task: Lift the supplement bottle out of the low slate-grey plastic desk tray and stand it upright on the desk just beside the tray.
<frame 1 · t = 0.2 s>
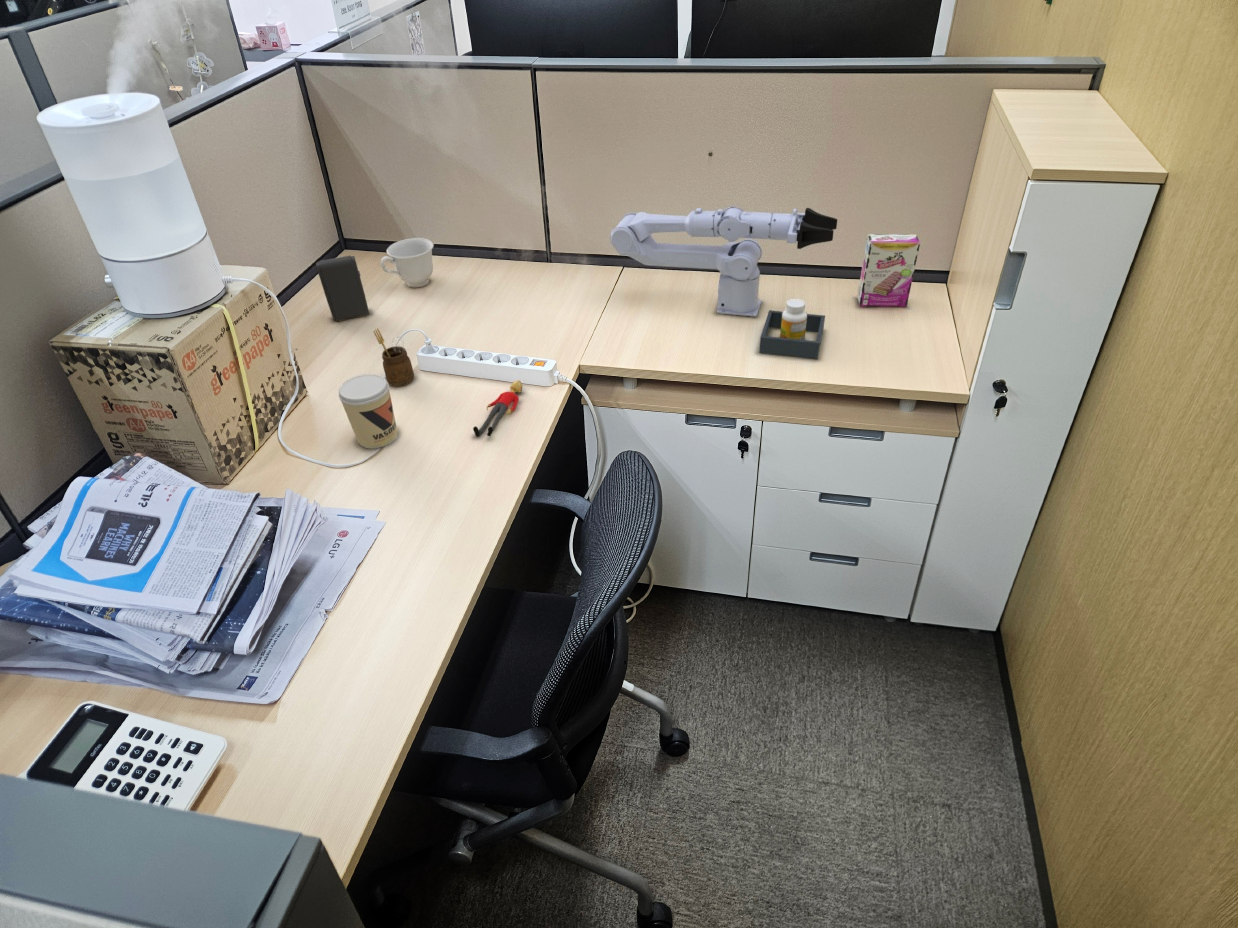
hand: (835, 229, 172), 21 cm above the table, tool horizontal, fingers open, 7 cm apart
beige lidded canister: (378, 437, 157), on the table
utensil holder: (400, 380, 173), on the table
dark grey upright block: (352, 316, 198), on the table
person figure: (502, 413, 162), on the table
teacup: (413, 285, 210), on the table
candy bar box: (881, 304, 189), on the table
supplement bottle: (791, 342, 178), resting in tray
tray: (791, 342, 177), on the table
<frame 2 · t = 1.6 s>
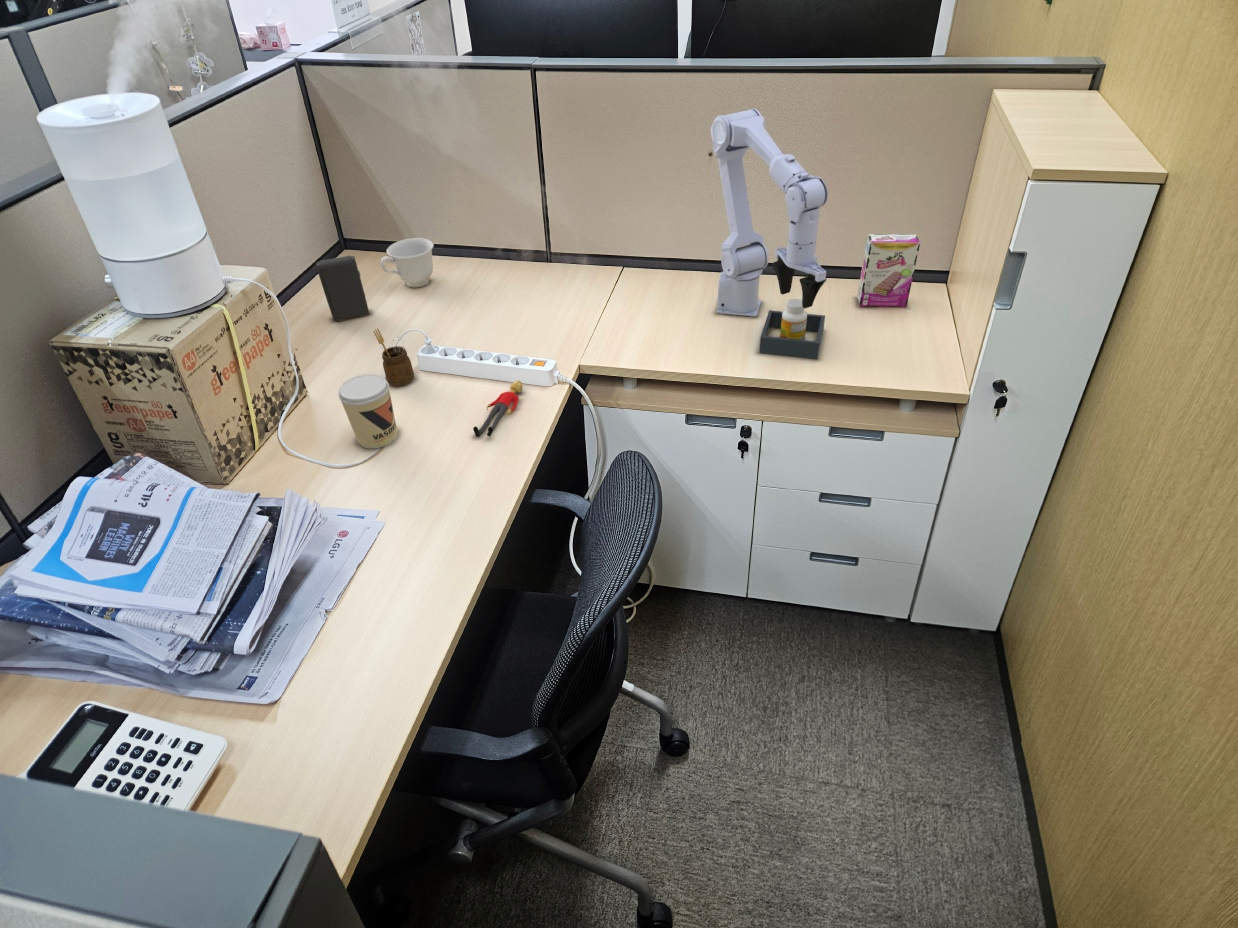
hand: (796, 299, 171), 10 cm above the table, tool pointing down, fingers open, 7 cm apart
nothing on the table moved.
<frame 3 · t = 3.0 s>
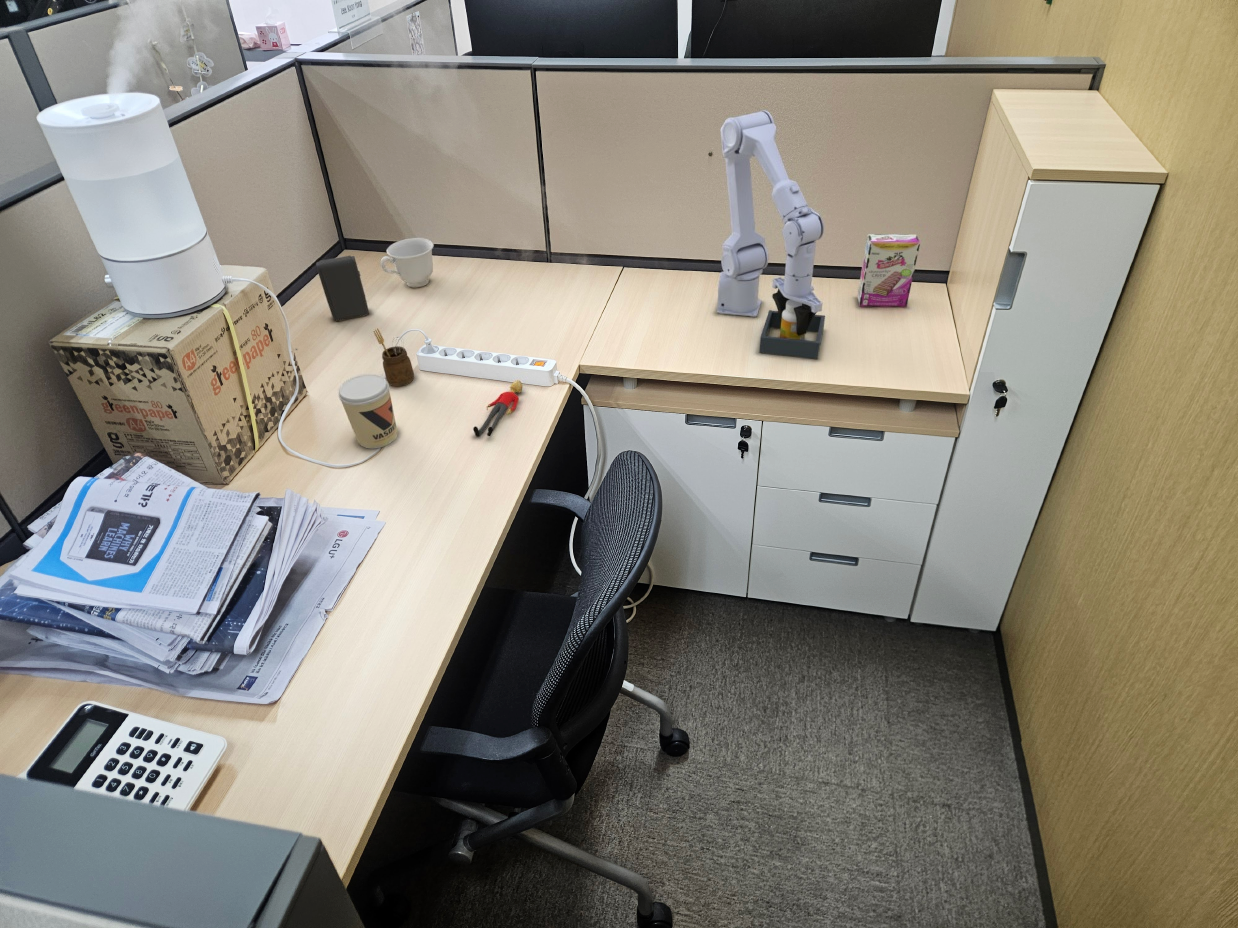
hand: (793, 328, 175), 3 cm above the table, tool pointing down, fingers closed on supplement bottle, 5 cm apart
supplement bottle: (791, 342, 178), resting in tray, touching gripper
everything else where it was.
when the fingers open (3 cm above the table, at t = 8.0 s): supplement bottle stays where it is, on the table.
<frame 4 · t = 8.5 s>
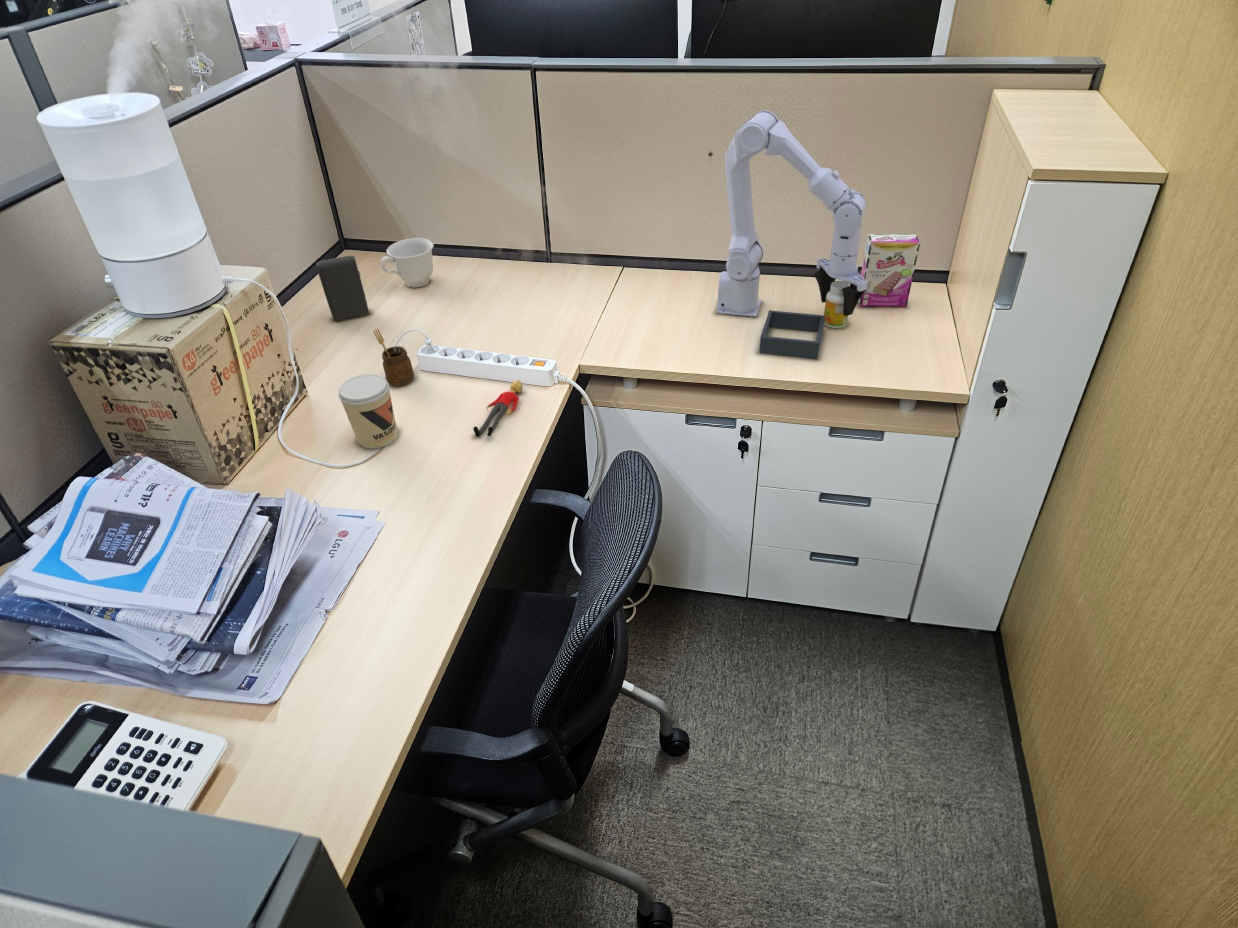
hand: (836, 307, 181), 4 cm above the table, tool pointing down, fingers open, 7 cm apart
supplement bottle: (834, 323, 183), on the table
everything else where it was.
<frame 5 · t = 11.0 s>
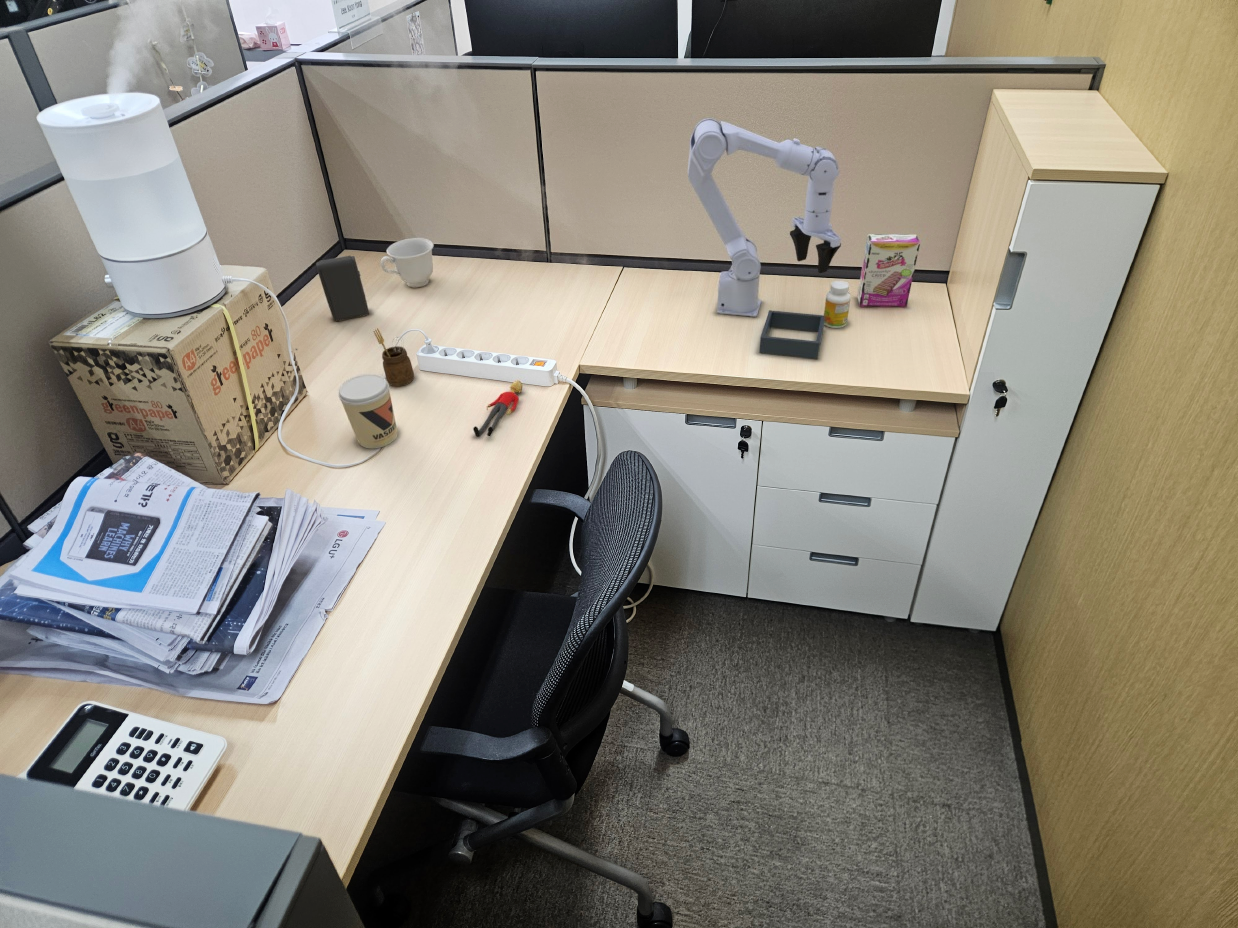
hand: (812, 266, 183), 10 cm above the table, tool pointing down, fingers open, 7 cm apart
nothing on the table moved.
at the end: supplement bottle inside the target area (0.0 cm from its centre), on the table; supplement bottle tilted 0°; the gripper is holding nothing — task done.
